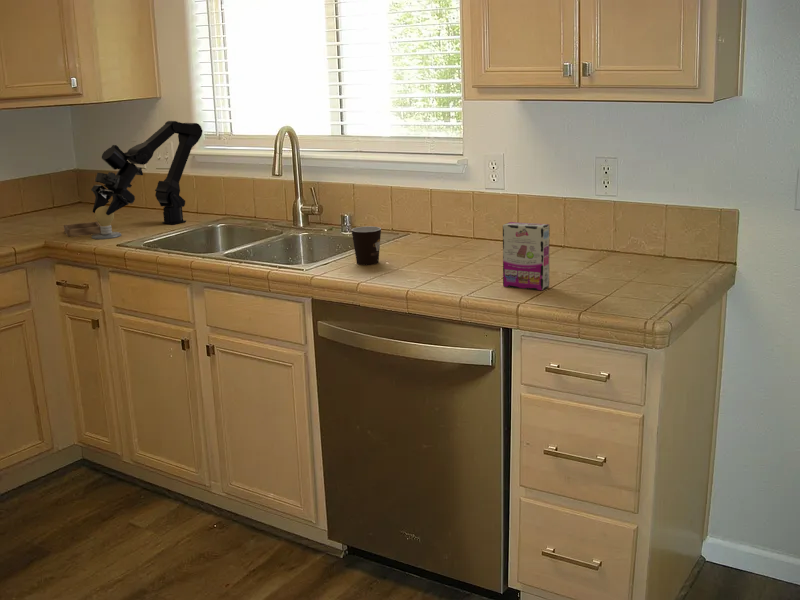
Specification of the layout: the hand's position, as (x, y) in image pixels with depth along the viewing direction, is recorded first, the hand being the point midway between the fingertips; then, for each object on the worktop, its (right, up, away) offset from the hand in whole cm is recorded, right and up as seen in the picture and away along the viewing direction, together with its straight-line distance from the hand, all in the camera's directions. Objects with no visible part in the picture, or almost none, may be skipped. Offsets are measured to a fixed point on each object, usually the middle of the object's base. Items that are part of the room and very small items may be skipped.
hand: (100, 213), depth 315 cm
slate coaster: (+1, -8, +3) cm, 8 cm away
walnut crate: (-10, -6, +12) cm, 16 cm away
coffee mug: (+96, -19, -49) cm, 109 cm away
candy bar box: (+137, -27, -82) cm, 162 cm away
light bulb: (+1, -7, +3) cm, 8 cm away
